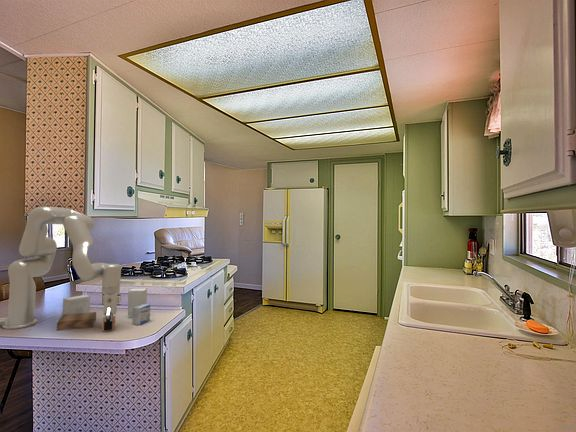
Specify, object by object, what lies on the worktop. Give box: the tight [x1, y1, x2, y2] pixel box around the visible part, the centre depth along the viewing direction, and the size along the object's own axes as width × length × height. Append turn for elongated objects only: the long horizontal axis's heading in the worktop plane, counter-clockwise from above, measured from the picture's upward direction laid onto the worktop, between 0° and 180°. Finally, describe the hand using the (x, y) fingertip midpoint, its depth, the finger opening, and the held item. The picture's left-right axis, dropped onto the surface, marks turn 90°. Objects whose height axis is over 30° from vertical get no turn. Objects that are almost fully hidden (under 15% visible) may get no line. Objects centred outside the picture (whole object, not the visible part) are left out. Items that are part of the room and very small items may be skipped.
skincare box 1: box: [62, 294, 91, 315], centre depth 156 cm, size 10×6×10 cm, turn 152°
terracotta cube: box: [101, 315, 116, 332], centre depth 140 cm, size 5×5×5 cm
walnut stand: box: [56, 311, 97, 332], centre depth 144 cm, size 14×12×4 cm
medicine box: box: [131, 303, 151, 326], centre depth 150 cm, size 8×4×9 cm, turn 168°
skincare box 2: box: [127, 287, 148, 319], centre depth 160 cm, size 8×6×15 cm
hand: (108, 327), depth 140 cm, fingers open, 6 cm apart
